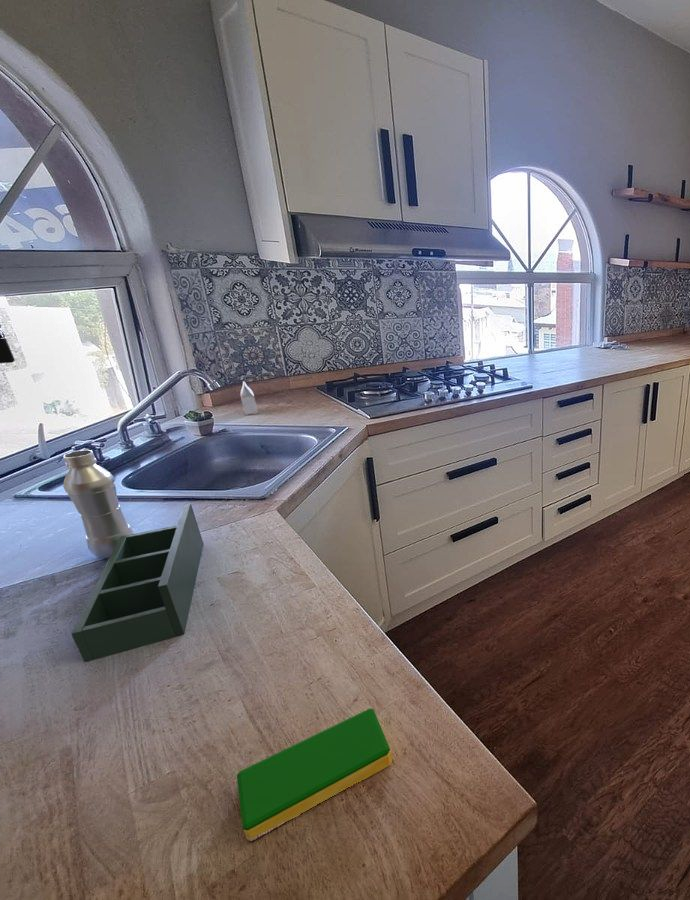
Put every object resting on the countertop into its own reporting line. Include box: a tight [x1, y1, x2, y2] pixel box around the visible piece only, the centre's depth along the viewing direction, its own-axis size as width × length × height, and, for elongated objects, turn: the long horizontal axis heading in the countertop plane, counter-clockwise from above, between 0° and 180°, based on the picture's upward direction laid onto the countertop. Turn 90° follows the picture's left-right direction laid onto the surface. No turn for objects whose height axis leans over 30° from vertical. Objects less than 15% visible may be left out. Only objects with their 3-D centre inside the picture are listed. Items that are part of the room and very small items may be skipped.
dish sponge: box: [236, 708, 393, 839], centre depth 55 cm, size 7×14×2 cm, turn 128°
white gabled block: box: [239, 380, 259, 416], centre depth 169 cm, size 4×7×10 cm, turn 35°
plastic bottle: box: [63, 449, 136, 559], centre depth 89 cm, size 6×7×20 cm
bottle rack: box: [71, 502, 204, 663], centre depth 81 cm, size 11×28×9 cm, turn 31°
